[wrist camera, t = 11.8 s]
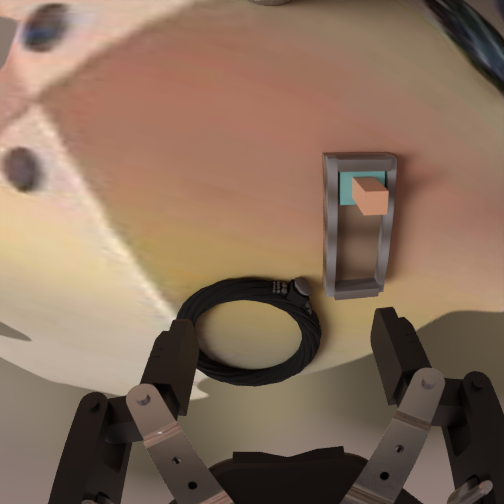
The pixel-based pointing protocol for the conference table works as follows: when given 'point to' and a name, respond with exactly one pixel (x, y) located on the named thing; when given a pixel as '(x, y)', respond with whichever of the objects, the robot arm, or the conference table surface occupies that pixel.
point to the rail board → (355, 229)
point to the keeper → (364, 191)
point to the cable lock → (266, 292)
